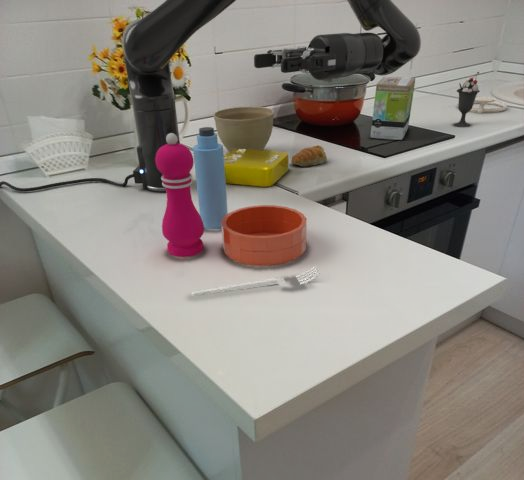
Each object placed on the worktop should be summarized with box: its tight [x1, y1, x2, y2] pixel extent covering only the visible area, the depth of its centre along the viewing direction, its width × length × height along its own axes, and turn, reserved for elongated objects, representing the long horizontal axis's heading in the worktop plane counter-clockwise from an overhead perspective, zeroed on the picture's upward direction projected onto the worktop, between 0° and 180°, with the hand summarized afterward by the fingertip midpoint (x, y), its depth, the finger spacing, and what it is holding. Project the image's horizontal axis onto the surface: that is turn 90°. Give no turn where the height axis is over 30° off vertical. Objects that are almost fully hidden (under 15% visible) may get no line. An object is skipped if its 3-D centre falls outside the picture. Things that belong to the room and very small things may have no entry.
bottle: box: [192, 126, 229, 230], centre depth 93 cm, size 5×5×18 cm
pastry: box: [291, 144, 328, 167], centre depth 130 cm, size 9×7×4 cm
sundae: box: [453, 71, 481, 128], centre depth 156 cm, size 7×7×15 cm
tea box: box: [369, 76, 416, 141], centre depth 150 cm, size 15×10×15 cm
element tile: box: [224, 149, 289, 188], centre depth 122 cm, size 15×15×5 cm
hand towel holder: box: [469, 96, 508, 114], centre depth 178 cm, size 17×4×21 cm
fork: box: [191, 266, 321, 297], centre depth 77 cm, size 3×20×2 cm, turn 103°
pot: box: [220, 204, 308, 267], centre depth 87 cm, size 15×15×6 cm
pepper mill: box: [156, 133, 205, 258], centre depth 83 cm, size 7×7×20 cm
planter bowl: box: [213, 106, 275, 153], centre depth 136 cm, size 16×16×11 cm
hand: (268, 63), depth 90 cm, fingers open, 8 cm apart
